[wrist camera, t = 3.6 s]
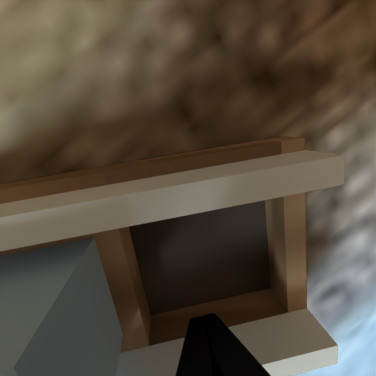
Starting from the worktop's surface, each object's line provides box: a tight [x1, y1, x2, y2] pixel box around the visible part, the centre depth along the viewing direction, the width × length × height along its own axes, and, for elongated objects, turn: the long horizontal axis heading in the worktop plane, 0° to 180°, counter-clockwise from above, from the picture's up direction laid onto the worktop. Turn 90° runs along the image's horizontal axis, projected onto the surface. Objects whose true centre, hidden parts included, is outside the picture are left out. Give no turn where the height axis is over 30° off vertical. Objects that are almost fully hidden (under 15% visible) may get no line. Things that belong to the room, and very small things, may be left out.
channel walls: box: [0, 150, 345, 376], centre depth 9 cm, size 9×14×2 cm, turn 99°
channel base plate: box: [0, 137, 307, 353], centre depth 10 cm, size 10×25×2 cm, turn 99°
